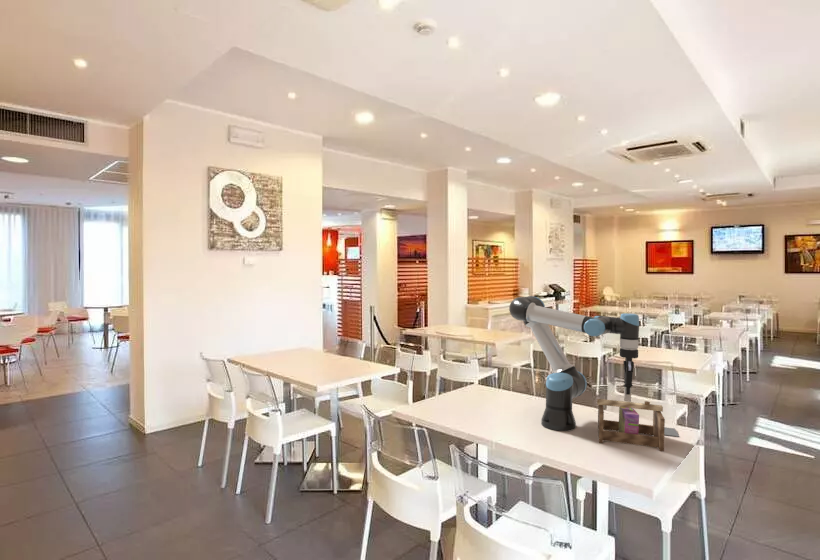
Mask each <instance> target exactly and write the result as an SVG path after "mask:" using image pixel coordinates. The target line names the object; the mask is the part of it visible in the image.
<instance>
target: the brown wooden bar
mask: <svg viewBox="0 0 820 560" xmlns="http://www.w3.org/2000/svg"><path fill="white" fill-rule="evenodd" d="M596 404H597V405H603V406H608V407H625V408H633V409H634V410H644V411H645V410H647V411H652V412H653V411H661V413H662V412H663V411H664V410H663V409H664V406H663V405H662V404H653V403H651V402H650V401H647V400H645V401H644V403H640V402H634V401H633V402H632V401H631V402H627V401H624V400H613V399H604V398H603V399H602V398H597V399H596Z"/></svg>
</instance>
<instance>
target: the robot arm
mask: <svg viewBox="0 0 820 560" xmlns="http://www.w3.org/2000/svg"><path fill="white" fill-rule="evenodd" d="M508 310H509V311H508V312H509V314H510V315H511V317H512V318H513V319H515V320H517V321H522V322H523V323H524V325H525V327H527V328H530V329H531V332H532V333H533V336H534V337H535V339H536V342H537V343H538V344H539V346H540V349H541V351H542V352H543V355H544V356H545V358H546V361H548V364H549V365H550V367H551V369H552V373H550V374H548V375H547V377H546V381H545V408H544V411H543V414H542V417H541V420H540V422H541V425H542V426H543V427H545V428H546V429H548V430H554V431H559V432H560V431H561V432H564V431H565V432H567V431H573V430H575V429H576V426H577V423H576V419H575V415H574V413H573V412H574V411H573V399H574V398H575V399H576V398H579V397H580V396H581V395H583V393H584V392H585V391H586V389H587V387H588V386H587V385H588V382H587V378H586V377H585V375H584V374H583V373H582V372H580V371H578V369H577V367H576V366H575V365H574V364H572V363H570V362H569V360H568V358H567V356H566V355H565V353H564V350H563V349H562V347H561V346H560V343H559V341H558V340H557V338H556V336H555V334H554V333H553V330H552V329H551V327H550V326H553V327H558V328H563V329H567V330H571V331H576V332H580V333H582V334H583V333H584V334H587V335H588V336H589V337H599V336H602V335H605V334H613V335H619V357H620V358H624V359H625V360H623V370H624V373H623V375H624V378H623V380H624V381H623V383H624V384H622V385H623V386H622V387H624V390H623V393H624V394H623V395H624V396H623V401H624V402H632V387H633V373H634V366H635V362H634V361H633V359H638V358H639V344H641V341H639V338H640V337H639V336H640V317H639V315H638V314H637V313H624V312H623V313H620V316H619V317H616V316H615V317H614V316H605V315H595V316H594V317H592V316H587V315H583V314H578V313H574V312H568V311H563V310H560V309H559V310H558V309H553V308H550V307H546V306H545V303H544V301H543V300H542V299H541V298H539V297H537V296H533V295H529V296H520V297H516V298H514V299H513V300H512V301H510V304H509V308H508Z"/></svg>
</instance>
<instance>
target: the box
mask: <svg viewBox="0 0 820 560" xmlns="http://www.w3.org/2000/svg"><path fill="white" fill-rule="evenodd" d="M618 421H619V430H618V431H617V432H623V433H631V434H638V429H639V424H640V414H639V413H638V412H637V411H636V409H634V408H625V407H619V408H618Z"/></svg>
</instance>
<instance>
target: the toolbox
mask: <svg viewBox="0 0 820 560" xmlns="http://www.w3.org/2000/svg"><path fill="white" fill-rule="evenodd" d="M652 412H653V413H652V424H645V423H643V424H642V423H639V429H638V434H631V433H623V432H618V430H619V420H618V421H617V420H609V419H608V420H607V419H604V418H605V417H604V415H605V411H604V405H598V406H597V436H598V443H599V444H604V441H605V442H613V443H614V442H615V443H621V444H629V445H635V446H643V447H644V446H645V447H650V448H651V447H652V448H658V451H659V452H664V451H665V435H664V428H665V427H666V425H665V423H666V419H665V417H664V415H663V414H662V411H653V410H652Z"/></svg>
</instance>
